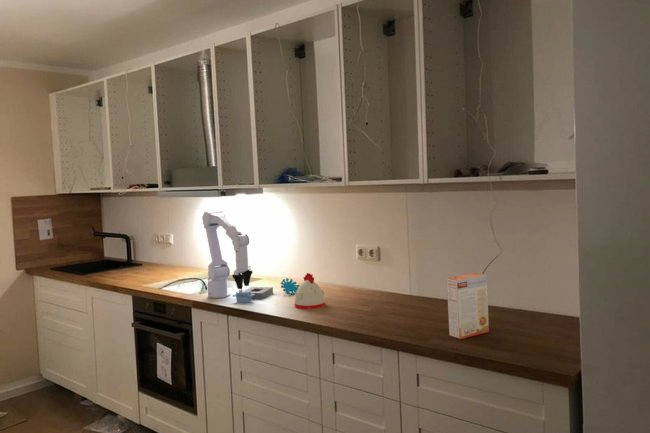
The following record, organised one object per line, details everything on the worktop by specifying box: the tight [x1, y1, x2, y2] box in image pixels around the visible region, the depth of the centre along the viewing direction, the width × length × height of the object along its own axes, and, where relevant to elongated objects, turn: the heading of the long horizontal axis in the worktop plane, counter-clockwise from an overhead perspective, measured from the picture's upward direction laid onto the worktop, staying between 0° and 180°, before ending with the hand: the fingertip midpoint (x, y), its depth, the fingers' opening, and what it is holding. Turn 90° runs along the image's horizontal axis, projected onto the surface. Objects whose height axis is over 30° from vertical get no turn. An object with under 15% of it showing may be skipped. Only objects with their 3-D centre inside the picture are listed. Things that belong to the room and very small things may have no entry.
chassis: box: [243, 286, 274, 300], centre depth 264 cm, size 12×14×3 cm
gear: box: [280, 277, 301, 296], centre depth 267 cm, size 11×6×10 cm
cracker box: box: [446, 272, 490, 340], centre depth 183 cm, size 14×6×21 cm, turn 118°
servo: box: [232, 288, 255, 304], centre depth 252 cm, size 4×10×6 cm, turn 74°
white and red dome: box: [294, 272, 326, 310], centre depth 238 cm, size 14×14×15 cm
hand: (243, 287), depth 252 cm, fingers open, 7 cm apart
